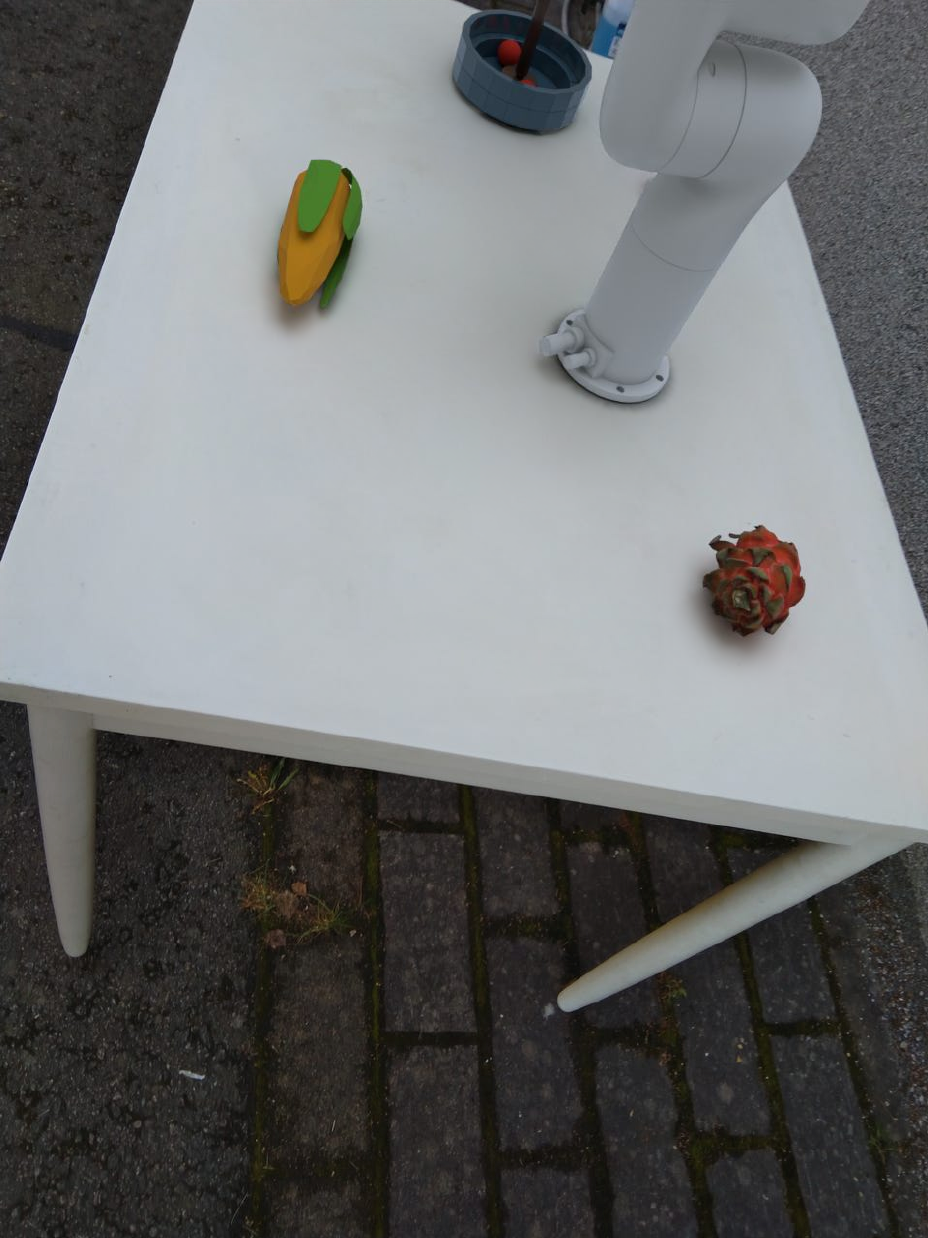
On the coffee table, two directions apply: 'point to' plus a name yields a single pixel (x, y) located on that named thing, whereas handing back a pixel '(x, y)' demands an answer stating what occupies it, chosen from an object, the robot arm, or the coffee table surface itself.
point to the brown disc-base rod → (529, 45)
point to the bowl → (552, 64)
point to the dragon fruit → (755, 580)
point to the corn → (318, 231)
